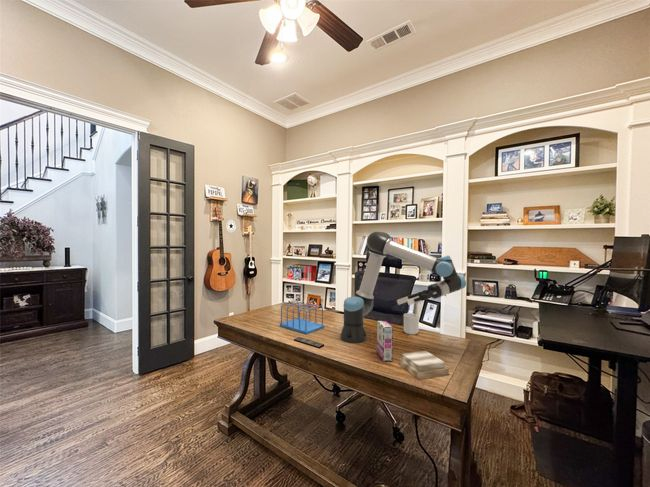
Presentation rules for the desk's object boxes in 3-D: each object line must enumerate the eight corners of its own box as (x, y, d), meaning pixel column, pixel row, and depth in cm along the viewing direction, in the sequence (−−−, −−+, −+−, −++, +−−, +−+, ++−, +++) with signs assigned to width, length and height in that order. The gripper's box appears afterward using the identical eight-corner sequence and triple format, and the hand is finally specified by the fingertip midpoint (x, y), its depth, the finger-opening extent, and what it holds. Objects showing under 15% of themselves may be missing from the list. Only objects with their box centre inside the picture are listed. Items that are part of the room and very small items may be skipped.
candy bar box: (393, 361, 130) (393, 327, 130) (383, 361, 129) (383, 327, 129) (386, 352, 141) (386, 320, 141) (376, 352, 140) (376, 320, 140)
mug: (413, 336, 165) (413, 317, 164) (400, 332, 171) (401, 314, 171) (423, 331, 173) (423, 314, 173) (410, 328, 179) (411, 311, 179)
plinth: (398, 363, 127) (398, 353, 127) (426, 360, 131) (426, 349, 131) (418, 379, 113) (418, 367, 113) (448, 374, 117) (448, 363, 117)
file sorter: (279, 326, 183) (279, 303, 183) (298, 320, 196) (298, 299, 196) (306, 334, 167) (306, 309, 166) (324, 328, 180) (324, 304, 180)
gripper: (454, 296, 133) (415, 310, 129) (429, 296, 157) (396, 308, 154) (448, 281, 134) (410, 295, 131) (424, 284, 159) (391, 296, 155)
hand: (402, 302), depth 142 cm, fingers open, 13 cm apart
